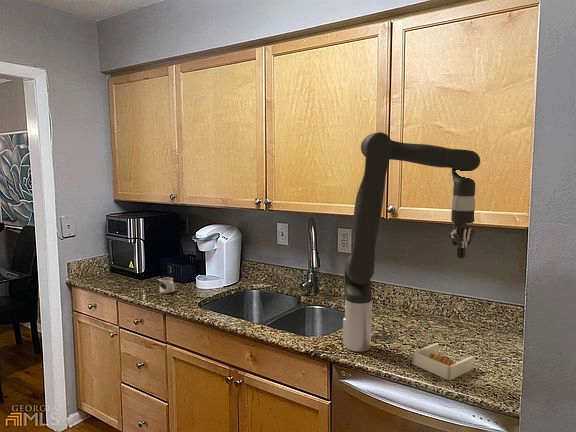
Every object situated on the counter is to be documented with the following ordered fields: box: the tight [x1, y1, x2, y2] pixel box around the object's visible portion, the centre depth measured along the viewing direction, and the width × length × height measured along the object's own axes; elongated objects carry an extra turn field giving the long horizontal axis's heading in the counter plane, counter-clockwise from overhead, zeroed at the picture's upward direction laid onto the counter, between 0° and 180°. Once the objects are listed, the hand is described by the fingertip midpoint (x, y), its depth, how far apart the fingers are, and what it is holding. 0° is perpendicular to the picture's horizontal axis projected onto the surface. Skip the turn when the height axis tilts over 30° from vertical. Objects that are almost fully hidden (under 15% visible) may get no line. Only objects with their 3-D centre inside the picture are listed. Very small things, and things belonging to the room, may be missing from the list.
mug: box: [158, 276, 176, 294], centre depth 221 cm, size 10×7×7 cm, turn 50°
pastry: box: [429, 353, 456, 366], centre depth 138 cm, size 9×7×4 cm
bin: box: [411, 342, 475, 381], centre depth 139 cm, size 14×13×4 cm
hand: (460, 257), depth 152 cm, fingers closed
